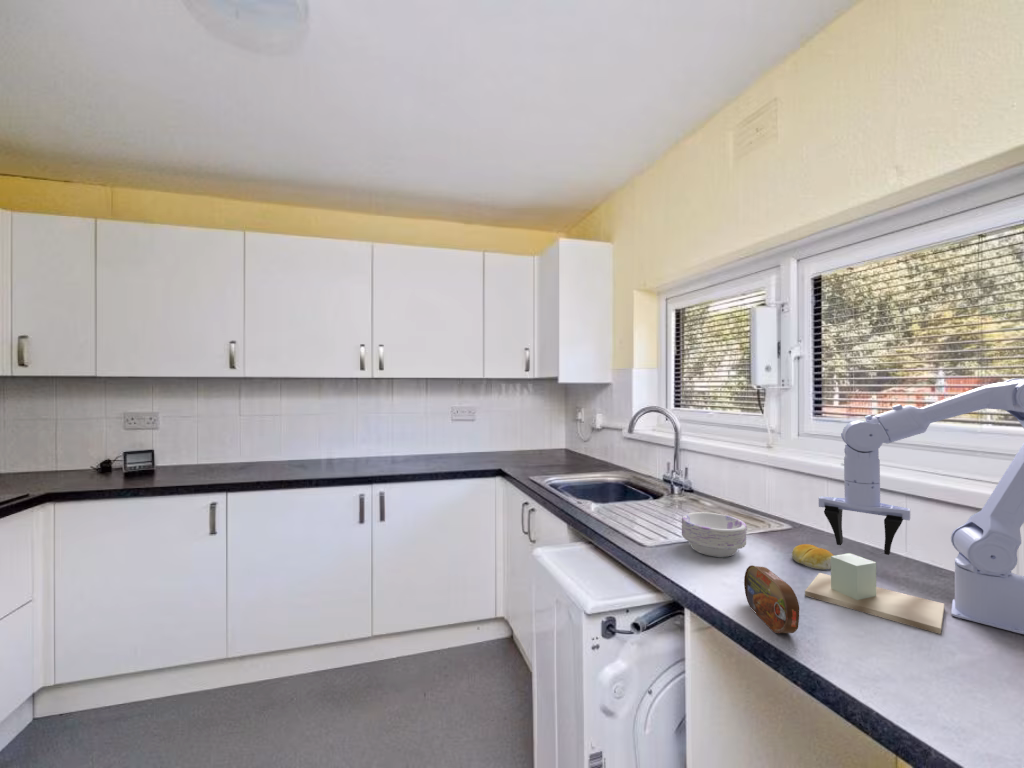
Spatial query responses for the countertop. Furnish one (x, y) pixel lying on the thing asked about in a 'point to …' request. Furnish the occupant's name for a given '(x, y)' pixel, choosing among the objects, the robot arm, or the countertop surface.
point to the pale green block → (853, 576)
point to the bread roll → (812, 556)
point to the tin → (771, 599)
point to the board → (883, 604)
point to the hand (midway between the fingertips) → (862, 548)
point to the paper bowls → (714, 533)
